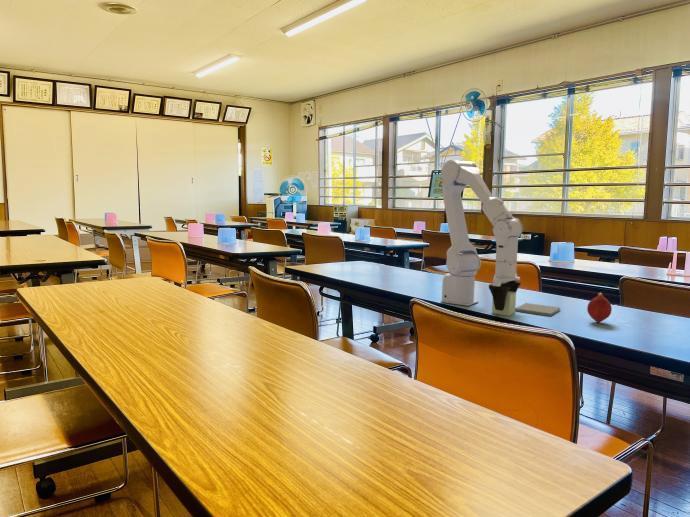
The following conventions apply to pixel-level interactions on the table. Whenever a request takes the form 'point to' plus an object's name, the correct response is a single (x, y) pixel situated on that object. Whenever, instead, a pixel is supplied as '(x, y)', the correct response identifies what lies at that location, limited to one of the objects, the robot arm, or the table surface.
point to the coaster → (537, 309)
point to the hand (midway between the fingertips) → (503, 307)
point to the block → (507, 305)
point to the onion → (599, 308)
